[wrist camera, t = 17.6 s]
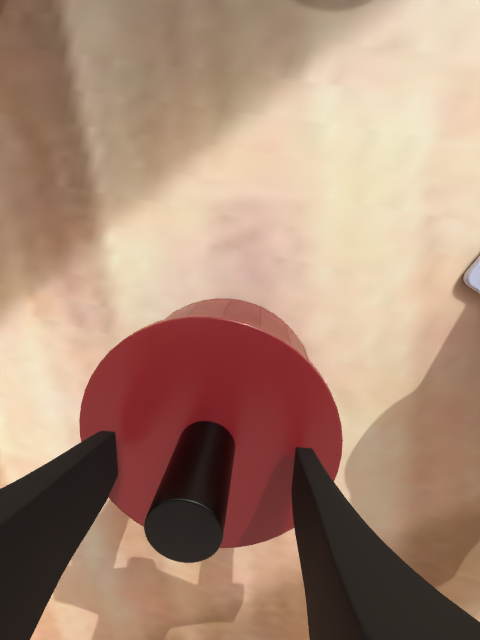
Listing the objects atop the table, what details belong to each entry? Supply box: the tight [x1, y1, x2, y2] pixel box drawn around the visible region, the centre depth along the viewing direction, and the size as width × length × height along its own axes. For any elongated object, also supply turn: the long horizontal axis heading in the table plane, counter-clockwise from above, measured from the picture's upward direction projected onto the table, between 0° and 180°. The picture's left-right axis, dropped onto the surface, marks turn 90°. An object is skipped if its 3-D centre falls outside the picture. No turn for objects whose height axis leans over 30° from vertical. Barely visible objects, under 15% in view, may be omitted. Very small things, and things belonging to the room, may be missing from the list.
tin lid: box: [80, 314, 343, 563], centre depth 12 cm, size 11×11×5 cm
